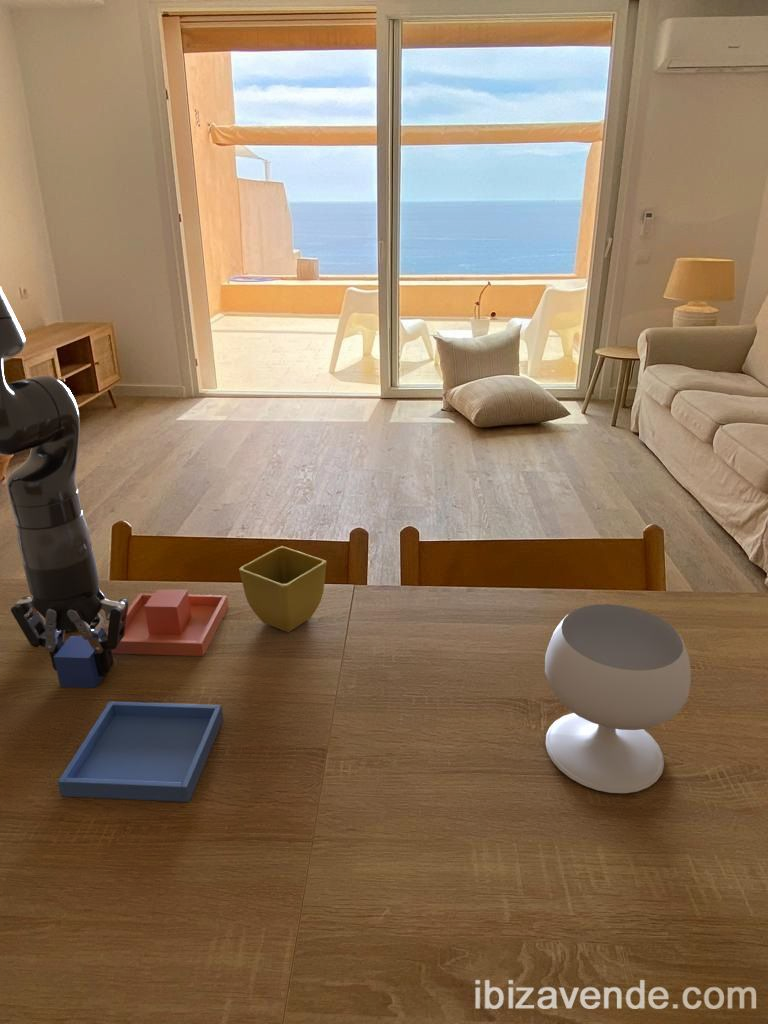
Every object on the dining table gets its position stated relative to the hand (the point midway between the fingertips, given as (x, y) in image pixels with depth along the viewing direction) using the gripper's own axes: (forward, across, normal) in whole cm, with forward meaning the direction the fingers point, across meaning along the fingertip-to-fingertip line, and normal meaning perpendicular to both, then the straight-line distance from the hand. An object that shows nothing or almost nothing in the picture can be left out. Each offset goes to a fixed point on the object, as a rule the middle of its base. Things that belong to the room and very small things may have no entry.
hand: (85, 671), depth 87 cm
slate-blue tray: (+1, -13, +13) cm, 18 cm away
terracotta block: (0, -7, -11) cm, 13 cm away
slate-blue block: (+1, 0, 0) cm, 1 cm away
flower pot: (+1, -23, -14) cm, 27 cm away
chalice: (+1, -62, +10) cm, 63 cm away
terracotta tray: (+1, -7, -11) cm, 13 cm away
